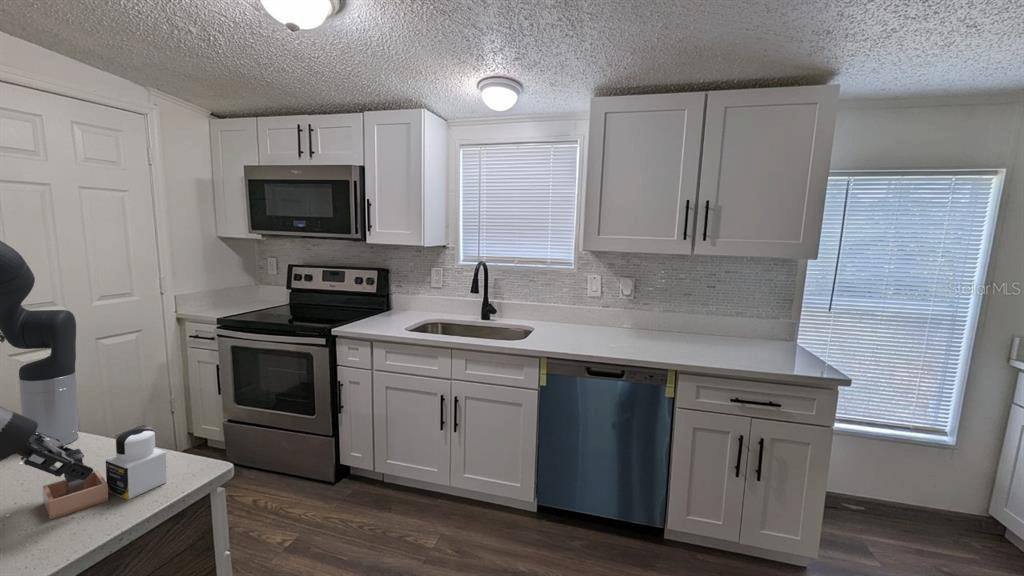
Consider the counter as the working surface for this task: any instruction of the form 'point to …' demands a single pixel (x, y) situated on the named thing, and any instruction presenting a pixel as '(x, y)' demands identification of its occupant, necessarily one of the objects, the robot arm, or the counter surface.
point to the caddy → (74, 496)
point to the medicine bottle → (135, 464)
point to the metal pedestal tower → (71, 482)
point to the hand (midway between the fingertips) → (84, 466)
